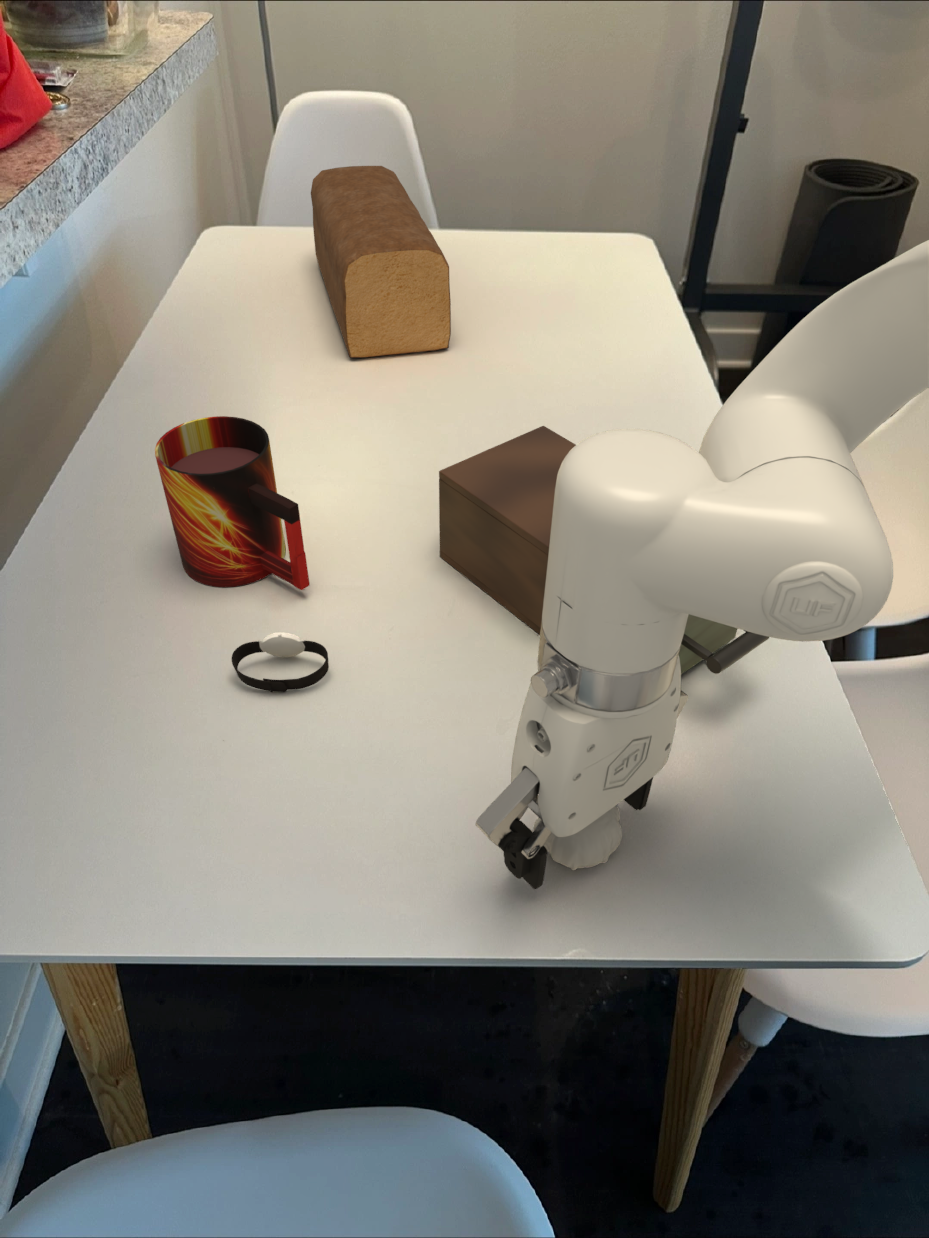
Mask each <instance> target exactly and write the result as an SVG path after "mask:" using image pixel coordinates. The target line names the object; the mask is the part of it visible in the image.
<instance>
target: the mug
mask: <svg viewBox="0 0 929 1238" xmlns="http://www.w3.org/2000/svg"><path fill="white" fill-rule="evenodd" d="M270 442H271V441H270V437H269V434H268V432H267V431H266V429H265V428H264V427H262V426H261V425H260V424H258V423H256V422H254V421H252V420H249V419H247V418H243V417H238V416H228V415H227V416H226V415H224V416H223V415H222V416H221V415H219V416H218V415H217V416H206V417H201V418H196V419H193V420H188V421H185V422H183V423H181V424H179V425H176V426H174V427H172V428H171V429H169V430H168V431H166V432H165V433H164V434H163V435H162V436H161V437H159V439H158V441H157V442H156V444H155V447H154V457H155V460H156V464H157V469H158V473H159V476H160V480H161V481H160V482H161V485H162V488H163V492H164V497H165V500H166V504H167V508H168V513H169V516H170V520H171V524H172V529H173V533H174V537H175V540H176V545H177V549H178V553H179V557H180V560H181V564H182V568H183V570H184V572H185V573H186V574H187V576H189V577H190V578H191V579H192V580H194V581H195V582H198V583H200V584H202V585H205V586H209V587H212V588H213V587H214V588H237V587H242V586H247V585H250V584H254V583H256V582H258V581H261V580H263V579H265V578H267V577H268V576H270V575H274V576H276V577H278V578H280V579H281V580H283V581H284V582H287V583H288V584H290V585H292V586H293V587H295V588H296V589H298V590H300V591H303V590H305V589H306V588H309V586H310V579H309V570H308V563H307V562H308V561H307V555H306V552H305V546H304V539H303V531H302V524H301V516H300V508H299V503H297V502H295V501H294V500H292V499H290V498H288V497H286V496H284V495H282V494H280V493H278V490H277V483H276V481H277V480H276V475H275V469H274V462H273V455H272V449H271V443H270ZM282 520H283V522H284V529H285V535H286V542H287V547H286V543H285V535H284V529H283V522H282ZM287 549H288V556H289V561H288V560H287V559H285V557H286V552H287Z"/></svg>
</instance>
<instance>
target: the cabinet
mask: <svg viewBox="0 0 929 1238" xmlns="http://www.w3.org/2000/svg"><path fill="white" fill-rule="evenodd" d="M576 445H577V444H576V443H574V442H572V441H571V440H569V439H568V438H565V437H564V436H562V435H560V434H558V433H557V432H555V431H554V430H552V429H551V428H548V427H547V426H545V425H541V426H539V427H537V428H534V429H532V430H529V431H528V432H525V433H523V434H521V435H518V436H516V437H513V438H511V439H509V440H507V441H504V442H502V443H500V444H498V445H495V446H493V447H491V448H488V449H486V450H484V451H482V452H479V453H477V454H475V455H472V456H471V457H467V458H465V459H463V460H461V461H459V462H456V463H454V464H452V465H449V466H447V467H444V468H442V469H440V470H439V471H438V509H439V510H438V513H439V515H438V517H439V518H438V519H439V520H438V521H439V523H438V525H439V530H438V531H439V558H441V559H442V560H444V561H445V562H446V563H447V564H448V565H450V566H451V567H453V568H454V569H455V570H456V571H457V572H459V573H460V574H462V575H463V576H464V577H465V578H466V579H468V580H469V581H470V582H472V583H473V584H474V585H475V586H477V587H478V588H479V589H481V590H482V591H483V592H484V593H486V594H487V595H488V596H489V597H491V598H492V599H493V600H495V602H497V603H498V604H500V605H501V606H502V607H504V609H506V610H507V611H509V612H510V613H511V614H513V615H514V616H515V617H516V618H518V619H519V620H520V621H522V622H523V623H524V624H525V625H527V626H528V627H529V628H531V629H532V630H533V631H534V632H535V633H537V634H538V635H540V631H541V621H542V612H543V602H544V593H545V584H546V574H547V565H548V555H549V545H550V535H551V525H552V515H553V504H554V494H555V486H556V480H557V474H558V471H559V468H560V466H561V464H562V461H563V460H564V458H565V457H566V455H567V454H568V453H569V451H570V450H571V449H572V448H573V447H574V446H576Z"/></svg>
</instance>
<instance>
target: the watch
mask: <svg viewBox="0 0 929 1238" xmlns="http://www.w3.org/2000/svg"><path fill="white" fill-rule="evenodd" d="M303 652H308V653H313V654H316V655H319V656H321V657H322V658H324V660H325V661H324V663H323V664H322V665H321V667H319V668H318V669H317V670H315V671H313V672H312V673H310V674H307V675H306V676H302V677H298V678H288V679H272V678H265V677H264V678H263V679H258V678H255V677H251V676H249V675H246V674H244V673H242V672H241V671H239V669H238V667H239V664H240V662H241V661H242V660H243V659H245V658H246V657H248V656H251V655H254V654H259V653H266V654H268V655H270V656H274V657H280V658H291V657H296V656H299V655H300V654H302V653H303ZM231 665H232V667H233V668H234V671H235V673H236V676H237V677H238V679H239V680H240V681H241V682H242V683H243V684H244V685H246V686H249V687H250V688H254V689H257V690H261V691H265V692H270V693H273V692H274V693H286V692H287V691H295V690H302V689H306V688H309V687H311V686H314V685H315V684H317V683H318V682H320V681H321V680H323V678H324V677H326V675H327V673H328V671H329V667H330V666H329V665H330V663H329V653H328V650H327V649H326V647H325V646H324V645H322V644H321V643H319V642H317V641H312V640H305V639H301V637H300V636H299V635H296V634H293V633H289V632H283V631H281V632H277V631H276V632H273V633H270V634H268V635H266V636H265V637H264V638H263V640H258V641H257V640H255V641H250V642H245V643H243V644H241V645H239V646H237V647H236V648H235V650H234V651H233V652H232V654H231Z"/></svg>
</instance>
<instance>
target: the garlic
mask: <svg viewBox="0 0 929 1238" xmlns="http://www.w3.org/2000/svg"><path fill="white" fill-rule="evenodd" d="M620 815H621V812H620V808H619V806H618V804H617V805H616V806H614V807H613V808H612V809H610V810H609V811H607V812H606V813H605V814H603V815H602V816H601V817H599V818H598V819H596V820H595V821H594V822H592V823H591V824H589V825H588V826H587V827H585V828H584V829H582V830H581V831H579V832H577V833H575V834H573V835H570V836H566V837H557V836H556V835H554V834H553V833H551V834H550V836H549V837H548V839H547V840H546V842H545V843H544V845H543V846H544V847H545V848H546V849H547V852H548V853H549V855H550V856H551V859H552V860H553V862H556V863H558V864H561V865H563V866H565V867H566V868H570V869H571V870H572V871H576V870H577V869H583V868H592V867H595V866H597V865H599V864H601V863H602V864H605V863H607V862H608V861H609V858H610V855H612V854H613V853H614V852H615V851H616V850H617V849H618V847H620V844H621V842H622V839H623V829H622V826H621V824H620V817H621V816H620ZM540 820H541V819H540V818H539V817H537V818H536V820H535V821H534V823H533V825H532V832H533V831H534V829H535V828H536V826H537V825H538V823H539V822H540Z"/></svg>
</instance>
